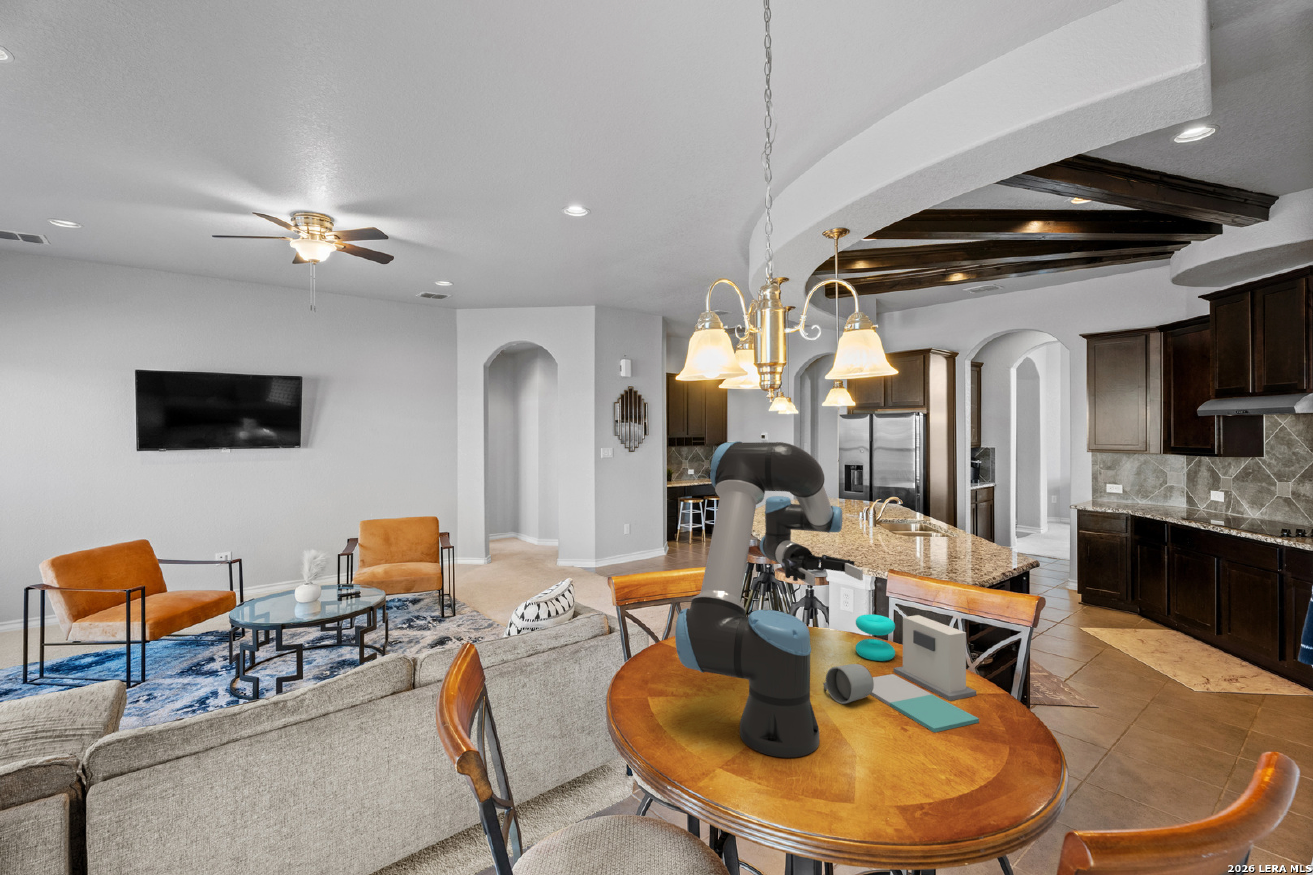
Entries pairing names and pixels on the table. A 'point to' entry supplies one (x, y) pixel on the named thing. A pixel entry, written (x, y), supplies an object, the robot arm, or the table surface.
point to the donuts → (875, 647)
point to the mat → (919, 704)
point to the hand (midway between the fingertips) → (838, 577)
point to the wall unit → (935, 657)
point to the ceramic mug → (848, 683)
